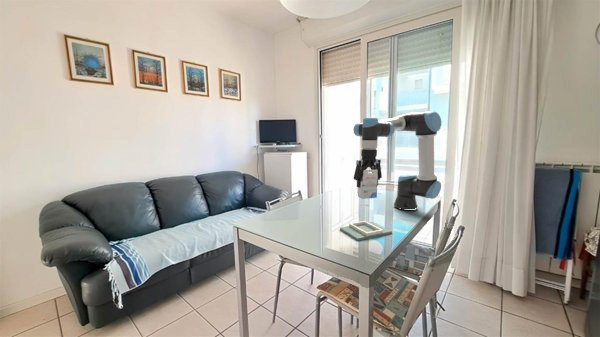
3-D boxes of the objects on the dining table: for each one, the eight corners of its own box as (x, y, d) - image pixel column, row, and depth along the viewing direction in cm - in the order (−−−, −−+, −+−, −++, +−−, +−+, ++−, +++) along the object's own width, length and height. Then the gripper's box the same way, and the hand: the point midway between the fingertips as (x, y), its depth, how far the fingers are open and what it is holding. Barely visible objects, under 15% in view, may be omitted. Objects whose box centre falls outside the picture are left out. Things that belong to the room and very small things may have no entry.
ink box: (371, 195, 130) (373, 168, 128) (377, 198, 126) (378, 169, 124) (357, 196, 128) (358, 168, 126) (362, 199, 124) (363, 170, 121)
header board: (372, 223, 141) (372, 219, 140) (391, 233, 127) (392, 228, 127) (339, 229, 132) (340, 224, 131) (357, 240, 118) (357, 235, 118)
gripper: (380, 147, 131) (378, 189, 134) (346, 148, 122) (345, 193, 125) (391, 148, 124) (388, 192, 128) (356, 149, 116) (354, 196, 119)
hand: (367, 192), depth 127 cm, fingers closed on ink box, 9 cm apart
